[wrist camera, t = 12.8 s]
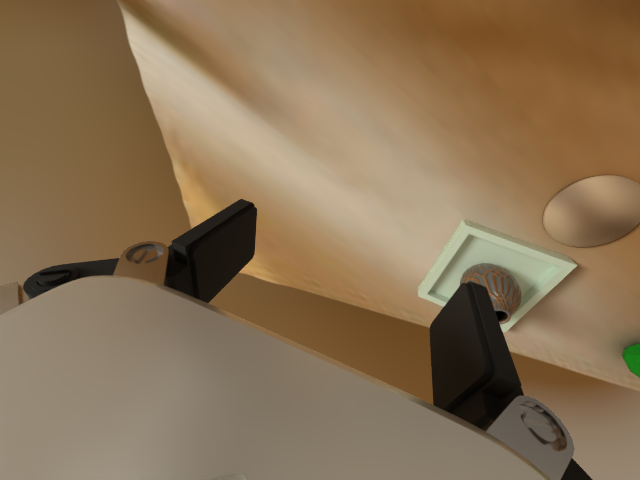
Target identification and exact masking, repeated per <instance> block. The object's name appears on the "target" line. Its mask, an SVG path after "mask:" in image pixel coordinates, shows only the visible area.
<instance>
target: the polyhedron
mask: <svg viewBox="0 0 640 480" xmlns="http://www.w3.org/2000/svg"><path fill="white" fill-rule="evenodd" d="M622 356H623V358H624V360H625V362H626V364H627V366H628V368H629V370H630V371H631V372H632V373H634V374H635V375H637V376H638V377H640V343H639V344H635V345H633V346H630V347H627V348H625V349H624V352H623V354H622Z"/></svg>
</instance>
